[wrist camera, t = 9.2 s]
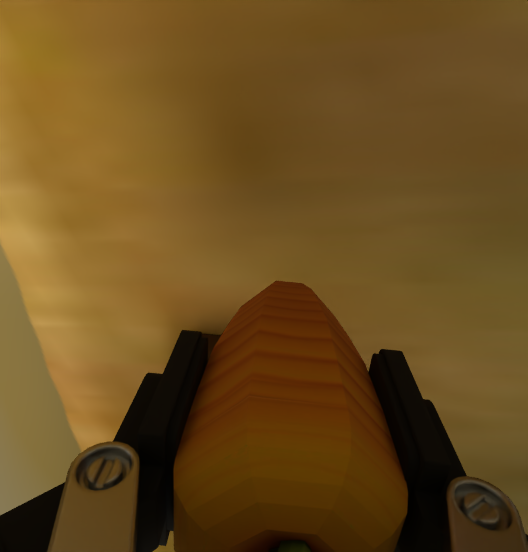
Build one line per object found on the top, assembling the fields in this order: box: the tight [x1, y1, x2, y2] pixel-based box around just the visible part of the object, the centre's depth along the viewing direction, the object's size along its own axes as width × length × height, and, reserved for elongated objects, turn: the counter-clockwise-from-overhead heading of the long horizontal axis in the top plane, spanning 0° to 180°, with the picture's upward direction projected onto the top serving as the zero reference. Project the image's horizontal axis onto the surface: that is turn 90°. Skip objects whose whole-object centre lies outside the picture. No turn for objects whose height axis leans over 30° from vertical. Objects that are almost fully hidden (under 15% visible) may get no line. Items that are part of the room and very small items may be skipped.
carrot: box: [174, 281, 408, 552], centre depth 11 cm, size 5×5×15 cm
